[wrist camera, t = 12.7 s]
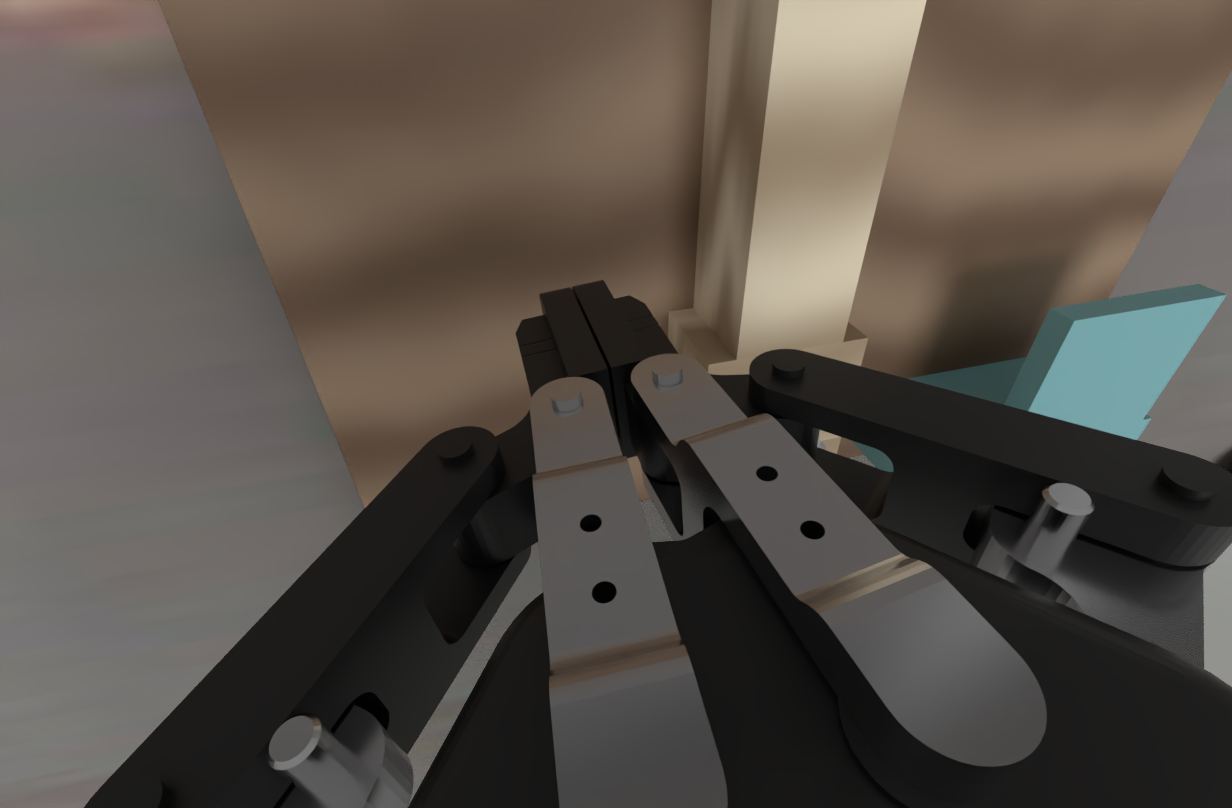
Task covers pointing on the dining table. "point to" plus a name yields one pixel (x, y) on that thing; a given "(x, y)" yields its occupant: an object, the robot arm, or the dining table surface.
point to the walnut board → (659, 179)
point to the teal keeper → (1091, 362)
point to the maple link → (792, 175)
